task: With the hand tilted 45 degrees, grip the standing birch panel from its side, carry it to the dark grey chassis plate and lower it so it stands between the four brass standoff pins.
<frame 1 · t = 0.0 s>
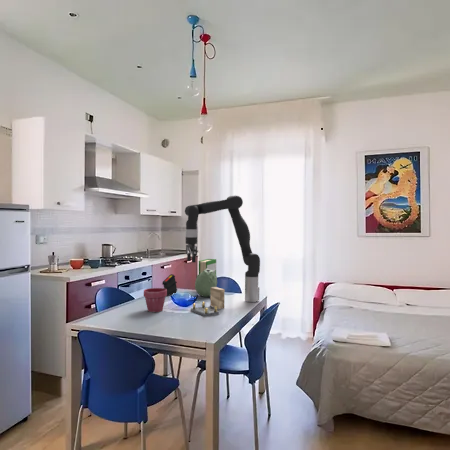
hand: (191, 261, 232), 29 cm above the table, tool pointing down, fingers open, 8 cm apart
plant pot: (155, 310, 223), on the table
panel: (217, 306, 234), on the table
chassis: (204, 312, 220), on the table
hardback book: (207, 290, 292), on the table
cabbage: (205, 296, 267), on the table
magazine: (169, 295, 270), on the table
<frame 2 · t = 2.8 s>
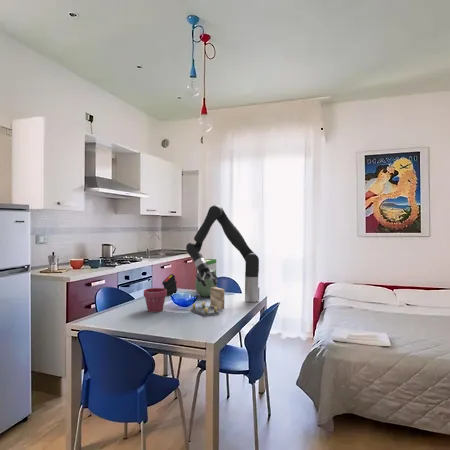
hand: (210, 285, 240), 13 cm above the table, tool tilted 45°, fingers open, 8 cm apart
nothing on the table moved.
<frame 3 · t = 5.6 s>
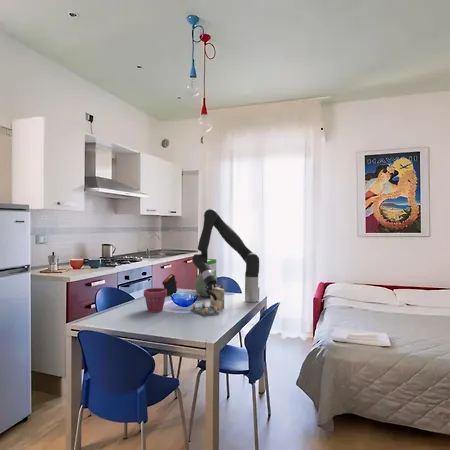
hand: (219, 299, 233), 5 cm above the table, tool tilted 45°, fingers closed on panel, 4 cm apart
panel: (217, 306, 234), on the table, touching gripper
everything else where it was.
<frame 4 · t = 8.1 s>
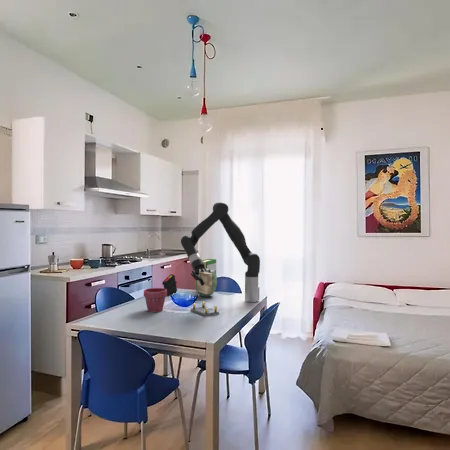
hand: (206, 284, 218), 17 cm above the table, tool tilted 45°, fingers closed on panel, 4 cm apart
panel: (204, 292, 220), point 12 cm above the table, touching gripper
everything else where it was.
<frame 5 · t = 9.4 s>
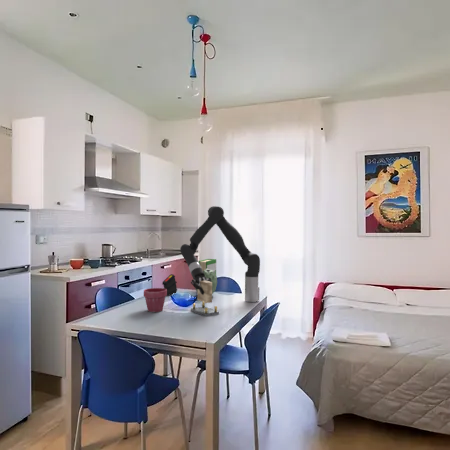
hand: (206, 293, 218), 12 cm above the table, tool tilted 45°, fingers closed on panel, 4 cm apart
panel: (204, 301, 220), point 7 cm above the table, touching gripper
everything else where it was.
when the fingers open (8 cm above the table, at t = 10.6 s): panel drops 2 cm, resting on chassis.
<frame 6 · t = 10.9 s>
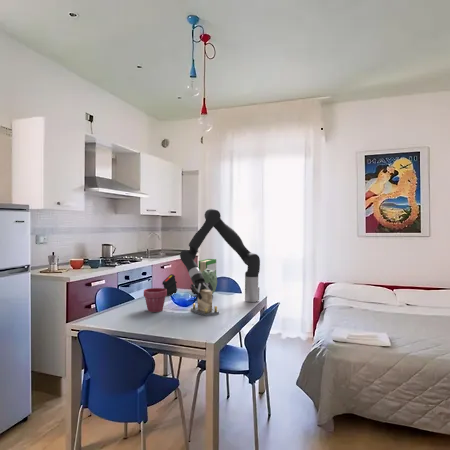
hand: (206, 298, 218), 9 cm above the table, tool tilted 45°, fingers open, 7 cm apart
panel: (204, 309, 220), point 1 cm above the table, touching chassis
everything else where it was.
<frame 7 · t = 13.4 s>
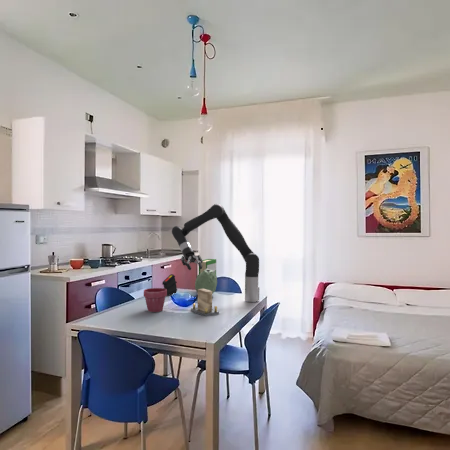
hand: (196, 268, 236), 24 cm above the table, tool tilted 45°, fingers open, 8 cm apart
nothing on the table moved.
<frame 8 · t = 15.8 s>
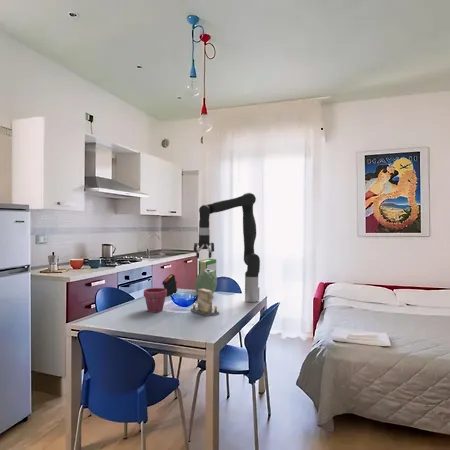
hand: (203, 258, 247), 30 cm above the table, tool pointing down, fingers open, 8 cm apart
nothing on the table moved.
at the end: panel 0.2 cm off-centre on the chassis, point 1.5 cm above the chassis's base; panel tilted 0°; the gripper is holding nothing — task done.
